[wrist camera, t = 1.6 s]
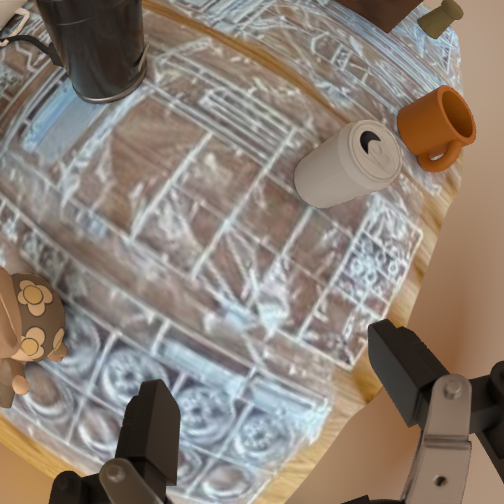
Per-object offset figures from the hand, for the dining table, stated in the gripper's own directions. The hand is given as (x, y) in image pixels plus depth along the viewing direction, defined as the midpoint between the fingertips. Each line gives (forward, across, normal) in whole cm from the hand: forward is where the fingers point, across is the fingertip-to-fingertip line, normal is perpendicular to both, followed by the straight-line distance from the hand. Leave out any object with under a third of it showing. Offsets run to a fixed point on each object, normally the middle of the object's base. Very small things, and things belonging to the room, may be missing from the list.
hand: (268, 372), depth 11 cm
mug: (+31, -29, -3) cm, 43 cm away
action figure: (+15, +25, +4) cm, 30 cm away
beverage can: (+26, -10, -1) cm, 28 cm away
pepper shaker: (+45, -51, -27) cm, 73 cm away
